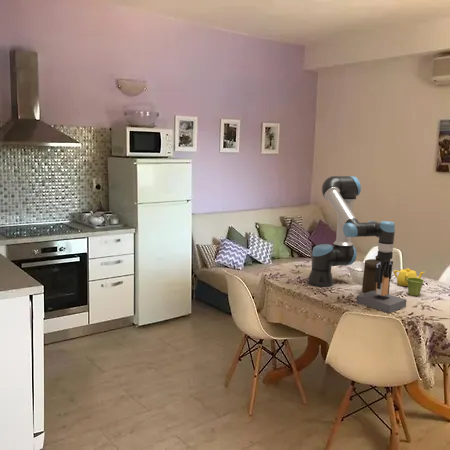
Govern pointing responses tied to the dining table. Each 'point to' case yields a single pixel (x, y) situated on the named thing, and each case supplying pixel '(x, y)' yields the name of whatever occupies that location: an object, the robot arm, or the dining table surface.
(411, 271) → the teapot
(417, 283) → the plant pot
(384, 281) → the orange plug
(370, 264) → the wooden container
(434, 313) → the dining table surface
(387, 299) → the socket board
